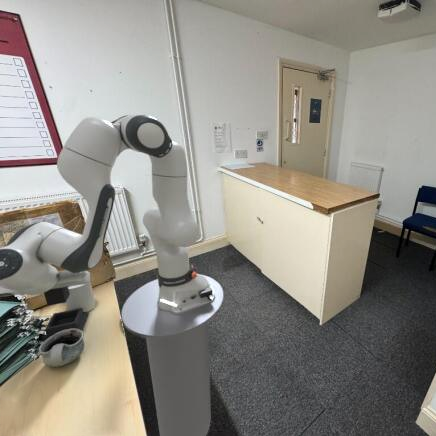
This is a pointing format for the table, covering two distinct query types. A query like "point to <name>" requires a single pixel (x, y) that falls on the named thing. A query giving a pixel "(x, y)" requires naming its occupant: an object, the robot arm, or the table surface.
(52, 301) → the teal and black block
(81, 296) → the cup
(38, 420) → the table surface
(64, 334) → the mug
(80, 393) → the table surface
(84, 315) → the black open tray
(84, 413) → the table surface
